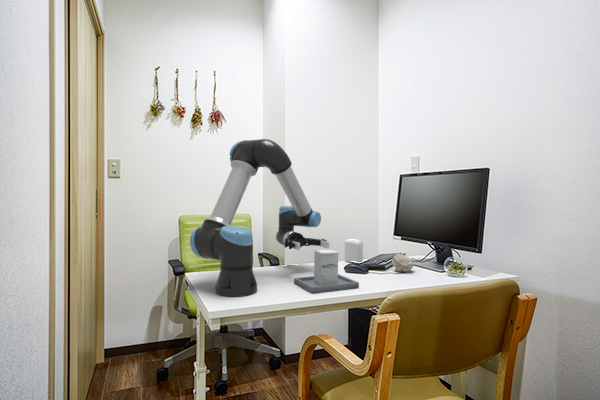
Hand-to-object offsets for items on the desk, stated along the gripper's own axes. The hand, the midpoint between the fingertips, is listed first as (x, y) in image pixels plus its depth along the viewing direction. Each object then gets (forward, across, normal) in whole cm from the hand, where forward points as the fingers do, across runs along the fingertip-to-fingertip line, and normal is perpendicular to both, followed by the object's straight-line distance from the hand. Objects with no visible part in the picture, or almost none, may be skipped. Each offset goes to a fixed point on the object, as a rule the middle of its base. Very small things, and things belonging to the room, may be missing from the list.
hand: (314, 245), depth 157 cm
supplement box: (+11, 0, -13) cm, 17 cm away
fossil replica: (+1, -46, -14) cm, 48 cm away
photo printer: (-25, -36, -13) cm, 46 cm away
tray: (+11, 0, -14) cm, 18 cm away
